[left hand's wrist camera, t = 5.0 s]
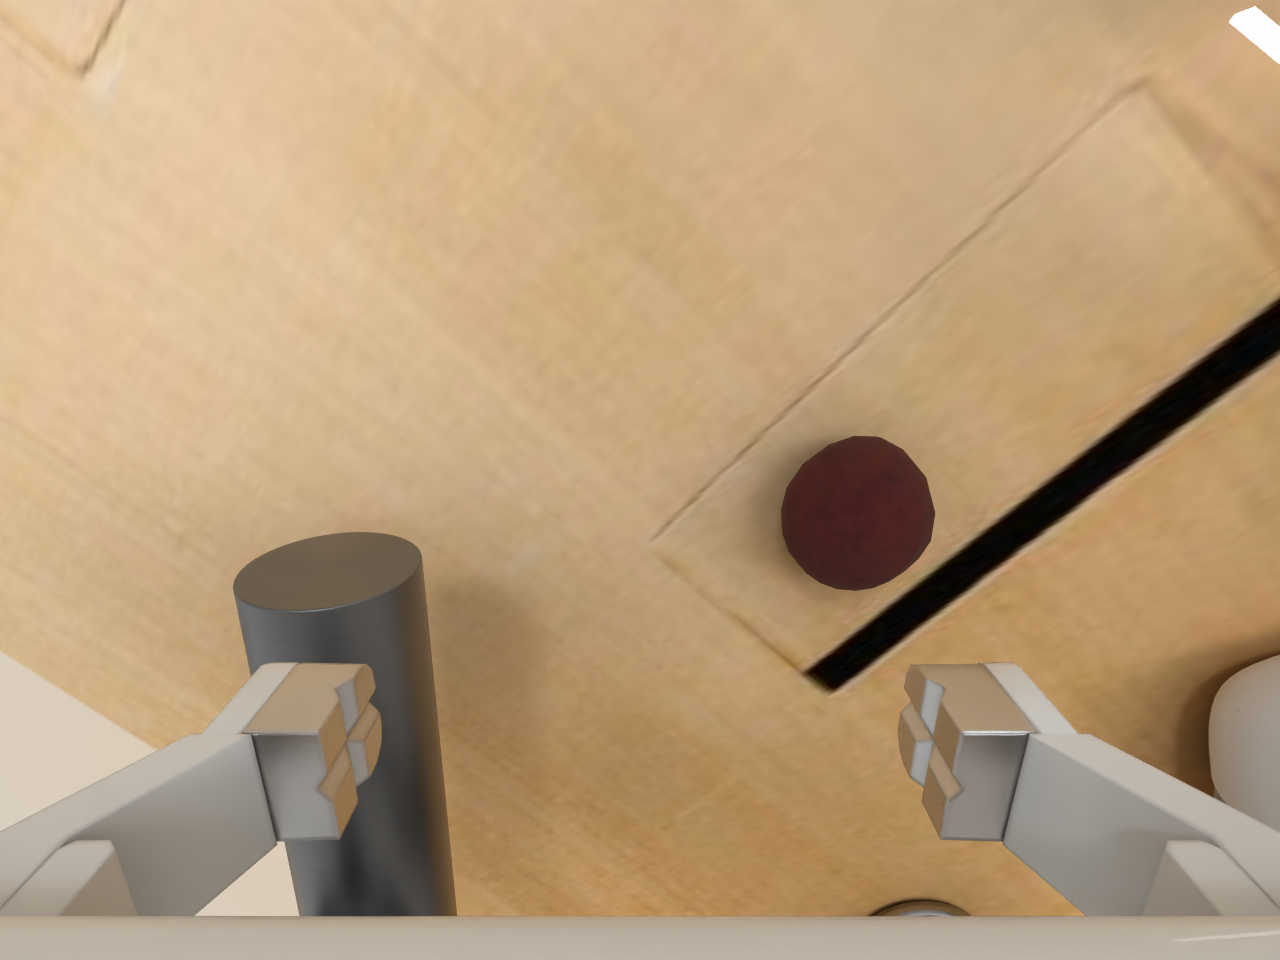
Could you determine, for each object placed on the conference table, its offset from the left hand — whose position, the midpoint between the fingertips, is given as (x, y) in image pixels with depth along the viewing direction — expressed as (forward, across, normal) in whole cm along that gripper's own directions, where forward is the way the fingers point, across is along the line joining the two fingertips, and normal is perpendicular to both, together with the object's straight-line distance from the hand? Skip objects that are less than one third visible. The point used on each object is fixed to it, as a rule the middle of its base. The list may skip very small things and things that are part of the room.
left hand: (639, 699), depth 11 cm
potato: (+27, +11, -7) cm, 30 cm away
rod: (+16, -11, -17) cm, 26 cm away
